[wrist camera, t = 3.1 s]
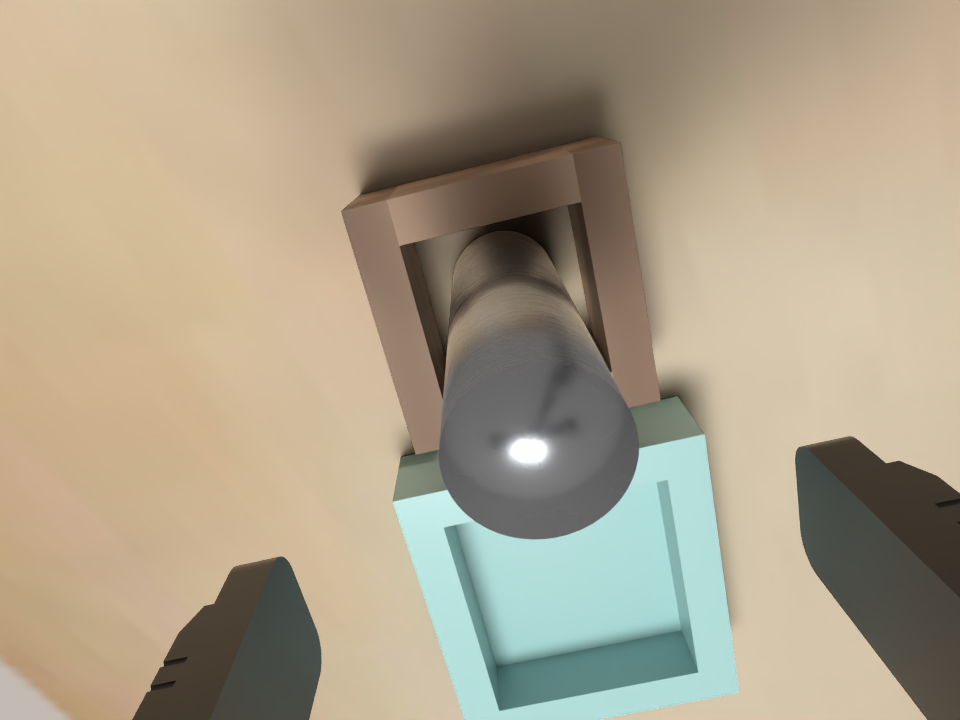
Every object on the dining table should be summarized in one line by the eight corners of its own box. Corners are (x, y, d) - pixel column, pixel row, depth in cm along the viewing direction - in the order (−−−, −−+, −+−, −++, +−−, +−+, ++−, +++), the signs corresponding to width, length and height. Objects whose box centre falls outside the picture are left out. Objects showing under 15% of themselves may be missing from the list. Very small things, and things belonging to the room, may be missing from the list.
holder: (597, 136, 25) (620, 142, 21) (634, 360, 28) (660, 400, 24) (359, 195, 25) (340, 211, 22) (422, 408, 28) (415, 454, 25)
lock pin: (543, 219, 26) (622, 340, 13) (563, 317, 27) (652, 517, 14) (441, 244, 26) (415, 387, 13) (466, 340, 27) (465, 556, 14)
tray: (677, 396, 29) (704, 434, 25) (712, 634, 33) (739, 692, 30) (400, 457, 29) (392, 501, 26) (471, 681, 34) (472, 743, 31)
